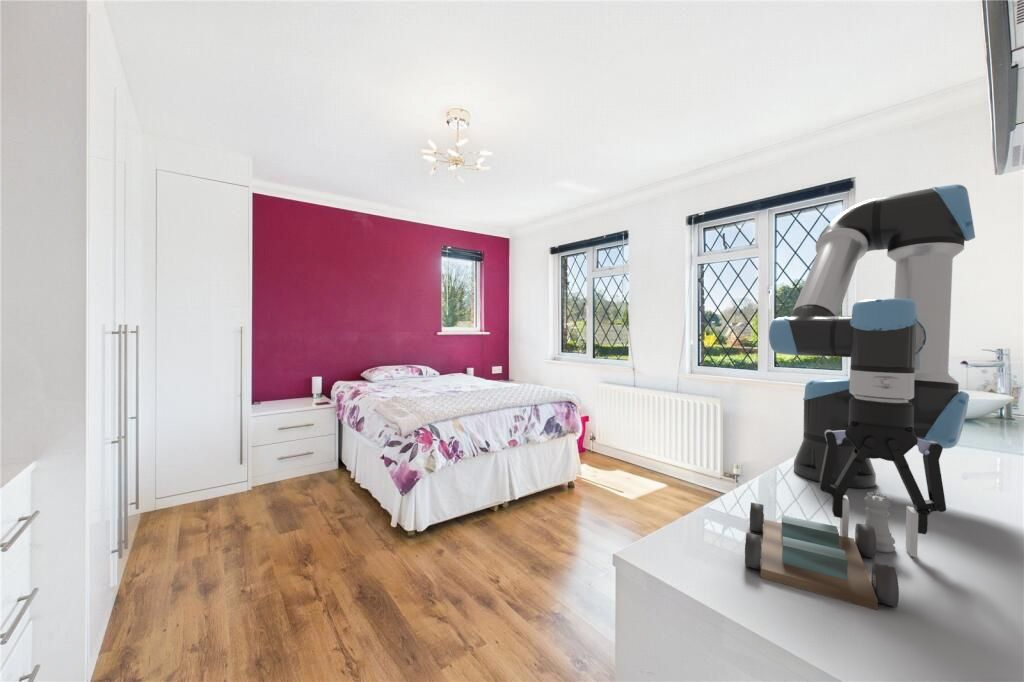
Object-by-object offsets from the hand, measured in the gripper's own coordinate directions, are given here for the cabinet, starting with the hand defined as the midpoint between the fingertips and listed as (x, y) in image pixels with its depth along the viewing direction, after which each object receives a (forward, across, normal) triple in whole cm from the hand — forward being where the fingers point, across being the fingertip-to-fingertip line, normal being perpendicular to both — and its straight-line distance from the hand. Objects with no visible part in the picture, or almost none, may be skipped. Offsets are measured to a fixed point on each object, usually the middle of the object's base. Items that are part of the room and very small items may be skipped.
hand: (876, 544), depth 65 cm
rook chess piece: (+1, 0, 0) cm, 1 cm away
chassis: (0, -9, -11) cm, 14 cm away
